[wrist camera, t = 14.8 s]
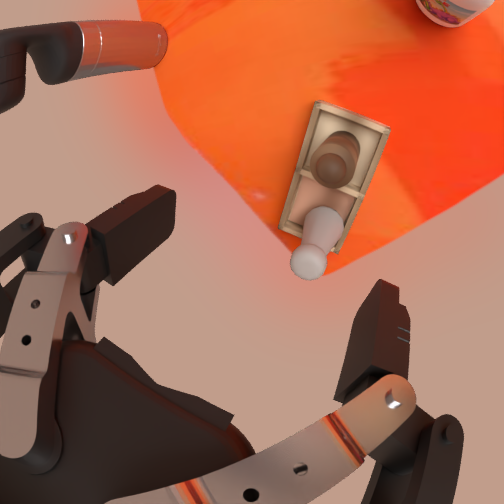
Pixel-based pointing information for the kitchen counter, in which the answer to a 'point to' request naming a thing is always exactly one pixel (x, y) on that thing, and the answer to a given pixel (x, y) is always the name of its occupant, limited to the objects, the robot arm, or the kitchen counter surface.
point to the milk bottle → (453, 10)
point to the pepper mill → (335, 160)
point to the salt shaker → (316, 242)
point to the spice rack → (341, 199)
